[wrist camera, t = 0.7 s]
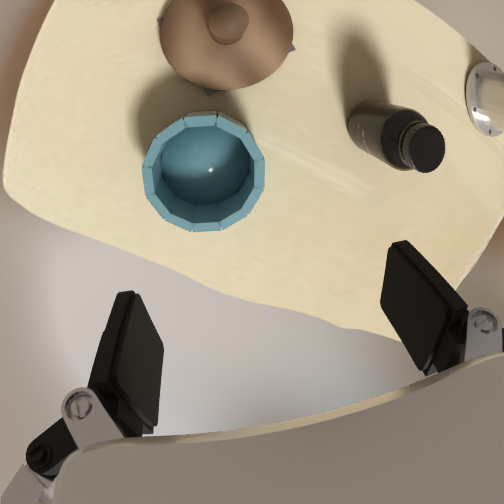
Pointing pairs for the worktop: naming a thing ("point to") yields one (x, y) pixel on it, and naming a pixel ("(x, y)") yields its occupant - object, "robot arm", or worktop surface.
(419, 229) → the worktop surface
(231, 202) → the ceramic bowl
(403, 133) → the supplement bottle
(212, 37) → the walnut lid
